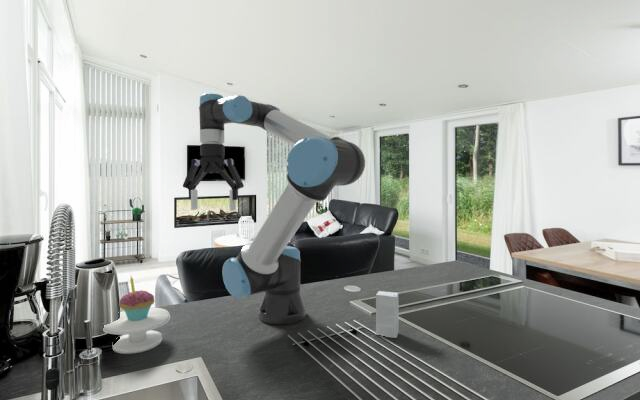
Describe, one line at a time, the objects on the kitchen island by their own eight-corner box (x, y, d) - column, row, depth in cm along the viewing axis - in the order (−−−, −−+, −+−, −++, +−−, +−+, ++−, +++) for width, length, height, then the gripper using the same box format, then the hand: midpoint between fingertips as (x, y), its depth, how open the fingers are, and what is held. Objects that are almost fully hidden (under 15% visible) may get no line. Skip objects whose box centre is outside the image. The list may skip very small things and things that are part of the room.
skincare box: (398, 332, 108) (399, 292, 107) (396, 338, 104) (397, 296, 103) (377, 330, 110) (378, 290, 109) (375, 335, 106) (375, 294, 105)
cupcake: (140, 324, 95) (139, 278, 95) (111, 322, 97) (110, 277, 97) (161, 313, 104) (160, 270, 103) (134, 310, 106) (133, 269, 105)
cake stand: (182, 333, 107) (182, 309, 107) (143, 361, 91) (143, 332, 91) (133, 328, 111) (132, 305, 110) (87, 354, 95) (86, 326, 94)
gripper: (253, 144, 120) (253, 209, 121) (184, 145, 125) (185, 208, 127) (243, 142, 113) (244, 211, 114) (170, 143, 118) (172, 210, 119)
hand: (213, 210), depth 120 cm, fingers open, 13 cm apart
